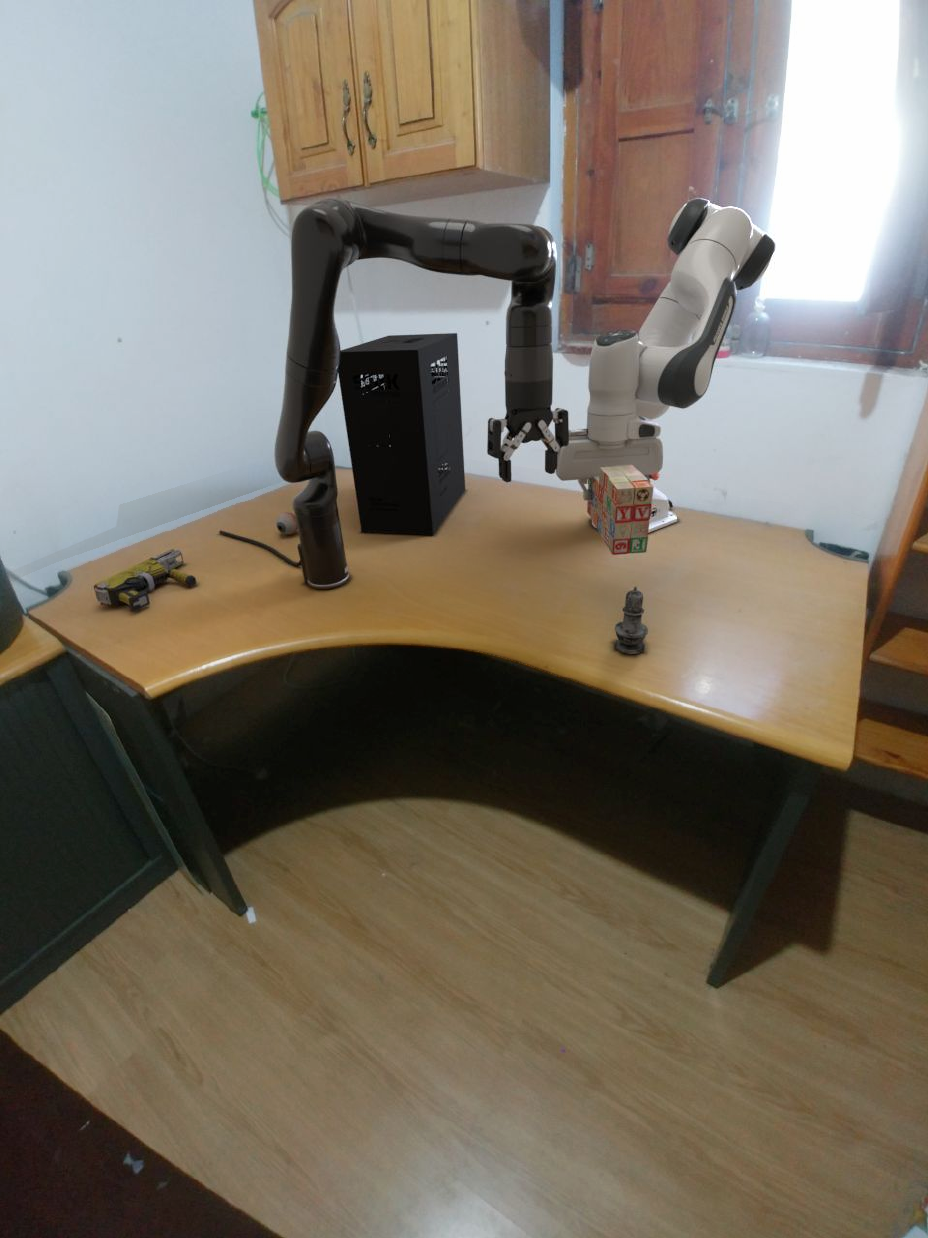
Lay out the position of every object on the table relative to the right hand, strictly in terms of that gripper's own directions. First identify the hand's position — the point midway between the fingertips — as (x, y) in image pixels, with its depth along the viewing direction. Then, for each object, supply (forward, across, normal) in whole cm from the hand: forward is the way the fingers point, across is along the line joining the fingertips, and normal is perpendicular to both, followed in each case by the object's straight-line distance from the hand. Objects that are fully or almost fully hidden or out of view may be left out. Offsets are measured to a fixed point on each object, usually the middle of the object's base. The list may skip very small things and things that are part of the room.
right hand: (606, 497), depth 120 cm
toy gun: (+18, -99, +13) cm, 102 cm away
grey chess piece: (+19, -1, -24) cm, 31 cm away
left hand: (-10, -17, -14) cm, 24 cm away
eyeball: (+19, -76, +42) cm, 89 cm away
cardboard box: (+19, -41, +55) cm, 71 cm away
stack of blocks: (+4, 0, -7) cm, 8 cm away
